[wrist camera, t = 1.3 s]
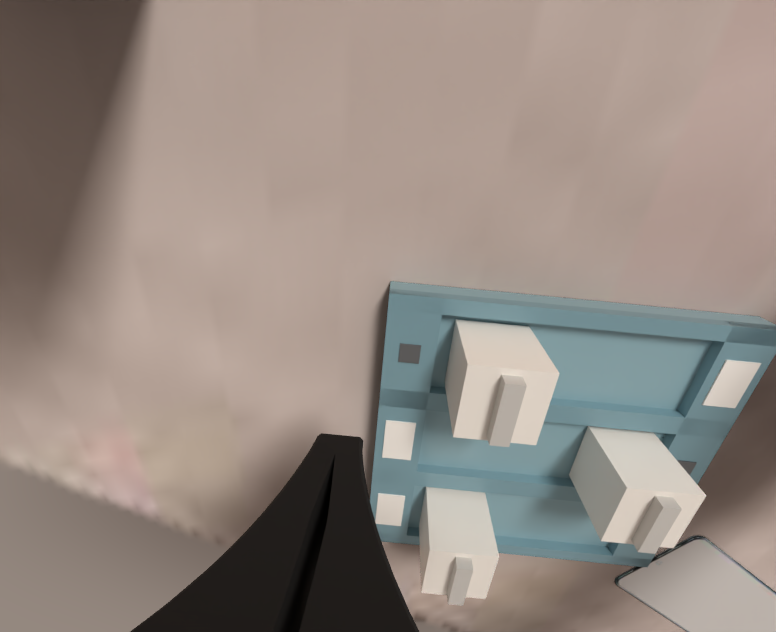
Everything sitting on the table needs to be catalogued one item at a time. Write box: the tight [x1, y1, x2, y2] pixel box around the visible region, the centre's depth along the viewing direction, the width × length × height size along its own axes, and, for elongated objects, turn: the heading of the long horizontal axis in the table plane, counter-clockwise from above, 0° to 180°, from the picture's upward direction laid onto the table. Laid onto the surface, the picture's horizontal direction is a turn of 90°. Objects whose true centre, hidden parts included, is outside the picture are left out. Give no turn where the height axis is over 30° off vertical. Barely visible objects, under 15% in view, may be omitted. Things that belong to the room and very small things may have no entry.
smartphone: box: [615, 536, 776, 632], centre depth 28 cm, size 7×1×15 cm
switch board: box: [370, 281, 776, 568], centre depth 21 cm, size 18×17×2 cm
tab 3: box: [569, 426, 706, 554], centre depth 19 cm, size 4×4×5 cm
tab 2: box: [445, 319, 560, 447], centre depth 17 cm, size 4×4×5 cm
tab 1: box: [419, 487, 499, 606], centre depth 21 cm, size 4×4×5 cm
